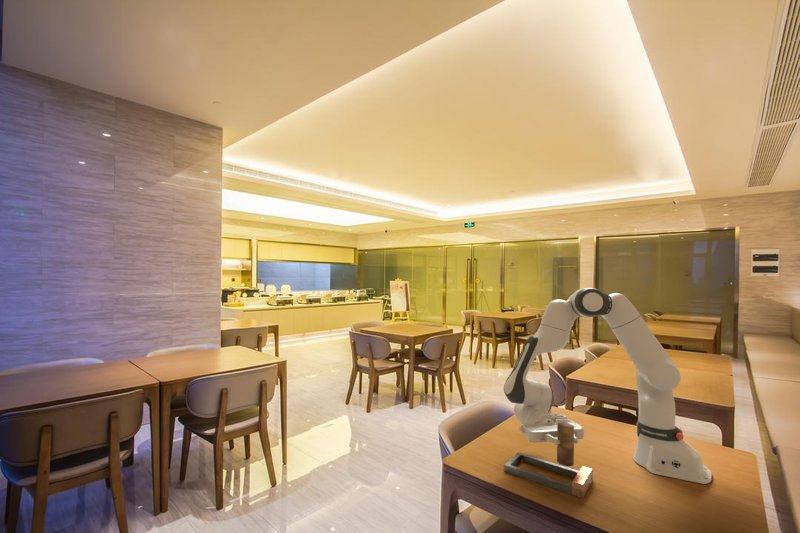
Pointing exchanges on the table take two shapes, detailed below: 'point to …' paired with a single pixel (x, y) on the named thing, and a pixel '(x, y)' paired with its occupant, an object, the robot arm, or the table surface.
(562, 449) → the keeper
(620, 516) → the table surface
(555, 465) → the guide track
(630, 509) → the table surface
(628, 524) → the table surface
